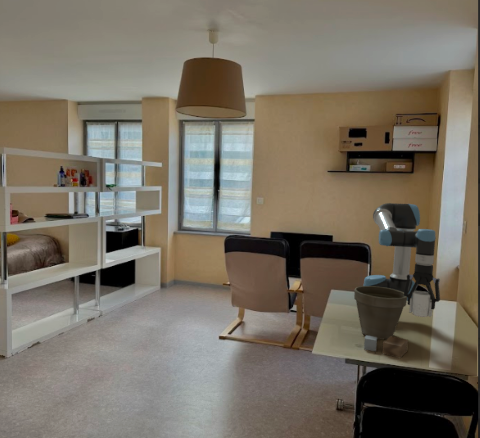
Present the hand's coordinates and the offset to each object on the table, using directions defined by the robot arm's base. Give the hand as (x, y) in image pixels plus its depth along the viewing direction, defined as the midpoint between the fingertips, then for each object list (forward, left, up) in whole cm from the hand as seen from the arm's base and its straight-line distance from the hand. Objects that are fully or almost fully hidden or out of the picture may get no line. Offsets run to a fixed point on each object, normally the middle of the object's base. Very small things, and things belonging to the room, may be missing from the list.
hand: (420, 314), depth 196 cm
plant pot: (-21, +8, -16) cm, 28 cm away
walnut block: (-7, -11, -16) cm, 21 cm away
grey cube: (-17, -14, -16) cm, 27 cm away
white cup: (0, 0, -1) cm, 1 cm away
